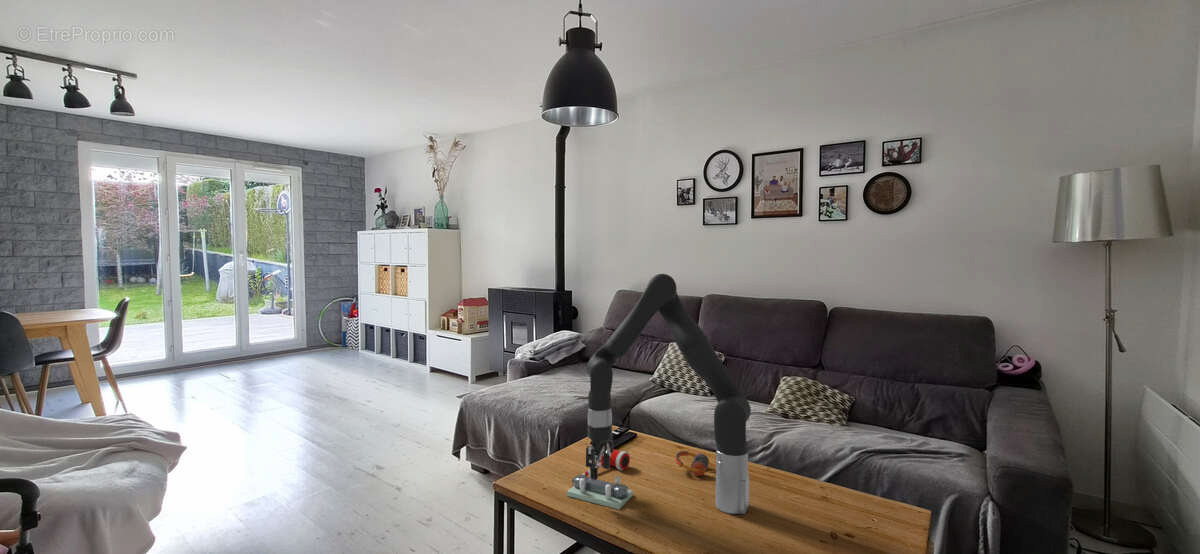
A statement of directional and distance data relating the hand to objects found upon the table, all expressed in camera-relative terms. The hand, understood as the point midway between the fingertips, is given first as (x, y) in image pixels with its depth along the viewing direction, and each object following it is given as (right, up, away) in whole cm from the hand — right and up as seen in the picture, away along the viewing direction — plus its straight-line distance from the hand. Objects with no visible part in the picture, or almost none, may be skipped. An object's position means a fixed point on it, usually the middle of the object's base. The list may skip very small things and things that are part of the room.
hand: (600, 473), depth 159 cm
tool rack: (0, -7, +1) cm, 7 cm away
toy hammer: (+1, -7, +19) cm, 20 cm away
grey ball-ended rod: (0, -6, +1) cm, 6 cm away
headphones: (+36, -7, +18) cm, 40 cm away
